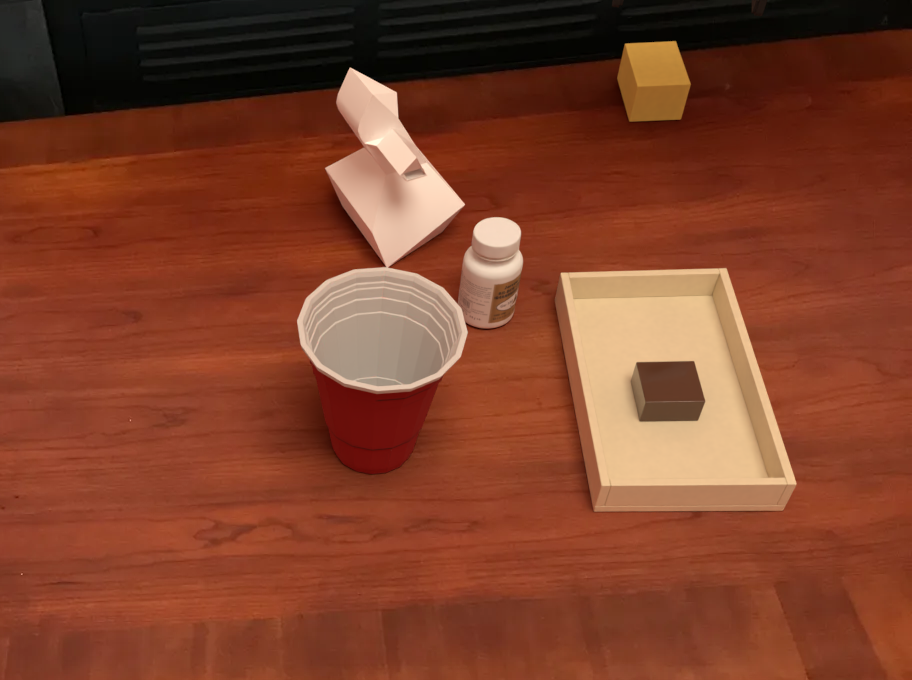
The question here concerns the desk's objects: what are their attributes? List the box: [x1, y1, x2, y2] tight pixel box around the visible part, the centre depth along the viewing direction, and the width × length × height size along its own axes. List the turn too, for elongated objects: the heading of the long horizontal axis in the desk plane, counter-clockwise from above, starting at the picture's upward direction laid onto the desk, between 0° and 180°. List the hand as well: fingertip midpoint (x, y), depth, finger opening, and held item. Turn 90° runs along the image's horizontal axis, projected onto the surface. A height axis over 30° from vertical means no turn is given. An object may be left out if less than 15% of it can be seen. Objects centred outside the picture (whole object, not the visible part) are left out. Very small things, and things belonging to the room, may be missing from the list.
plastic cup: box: [296, 266, 469, 475], centre depth 78 cm, size 11×11×12 cm
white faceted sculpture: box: [324, 67, 466, 268], centre depth 92 cm, size 8×14×14 cm, turn 19°
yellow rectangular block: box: [616, 40, 692, 123], centre depth 103 cm, size 4×7×4 cm, turn 176°
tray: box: [554, 267, 797, 513], centre depth 82 cm, size 12×21×3 cm, turn 176°
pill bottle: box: [457, 216, 524, 329], centre depth 87 cm, size 4×4×8 cm
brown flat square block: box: [631, 361, 705, 422], centre depth 81 cm, size 4×4×2 cm
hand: (686, 1), depth 84 cm, fingers open, 9 cm apart
